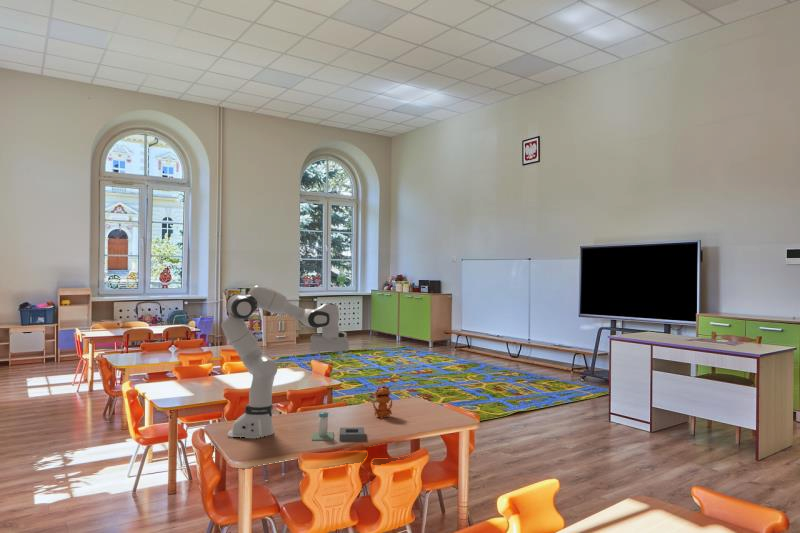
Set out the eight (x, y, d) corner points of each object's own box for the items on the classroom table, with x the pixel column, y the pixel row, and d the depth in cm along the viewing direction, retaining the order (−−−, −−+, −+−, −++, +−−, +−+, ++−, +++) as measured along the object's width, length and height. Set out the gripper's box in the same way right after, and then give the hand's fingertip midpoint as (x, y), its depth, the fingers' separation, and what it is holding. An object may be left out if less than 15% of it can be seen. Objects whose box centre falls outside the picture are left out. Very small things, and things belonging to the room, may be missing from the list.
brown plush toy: (375, 419, 304) (375, 387, 304) (371, 415, 314) (371, 383, 314) (394, 418, 307) (395, 386, 307) (389, 414, 317) (390, 383, 317)
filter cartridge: (318, 437, 264) (318, 414, 264) (318, 434, 268) (319, 412, 269) (327, 436, 264) (328, 414, 265) (327, 434, 269) (328, 411, 269)
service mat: (311, 442, 260) (312, 439, 260) (313, 435, 272) (313, 432, 272) (333, 442, 261) (333, 439, 261) (333, 435, 273) (333, 432, 273)
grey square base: (339, 442, 260) (339, 434, 260) (339, 435, 272) (339, 427, 272) (364, 442, 261) (364, 434, 261) (363, 435, 273) (363, 427, 273)
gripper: (310, 334, 286) (309, 360, 286) (349, 334, 288) (348, 360, 288) (310, 333, 293) (310, 358, 292) (349, 333, 295) (348, 358, 294)
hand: (329, 359), depth 290 cm, fingers open, 8 cm apart
